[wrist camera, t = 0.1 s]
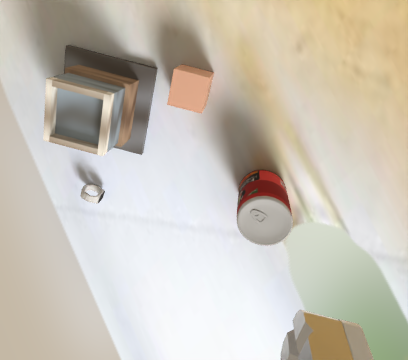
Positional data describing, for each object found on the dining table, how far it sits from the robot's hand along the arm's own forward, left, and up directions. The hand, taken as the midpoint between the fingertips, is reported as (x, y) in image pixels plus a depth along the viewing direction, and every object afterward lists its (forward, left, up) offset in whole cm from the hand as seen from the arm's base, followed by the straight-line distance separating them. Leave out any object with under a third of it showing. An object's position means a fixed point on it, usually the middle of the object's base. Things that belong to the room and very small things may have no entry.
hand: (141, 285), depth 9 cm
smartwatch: (+25, -18, -48) cm, 57 cm away
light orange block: (+3, -5, -48) cm, 48 cm away
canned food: (+17, +10, -48) cm, 52 cm away
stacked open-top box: (+9, -18, -48) cm, 52 cm away
